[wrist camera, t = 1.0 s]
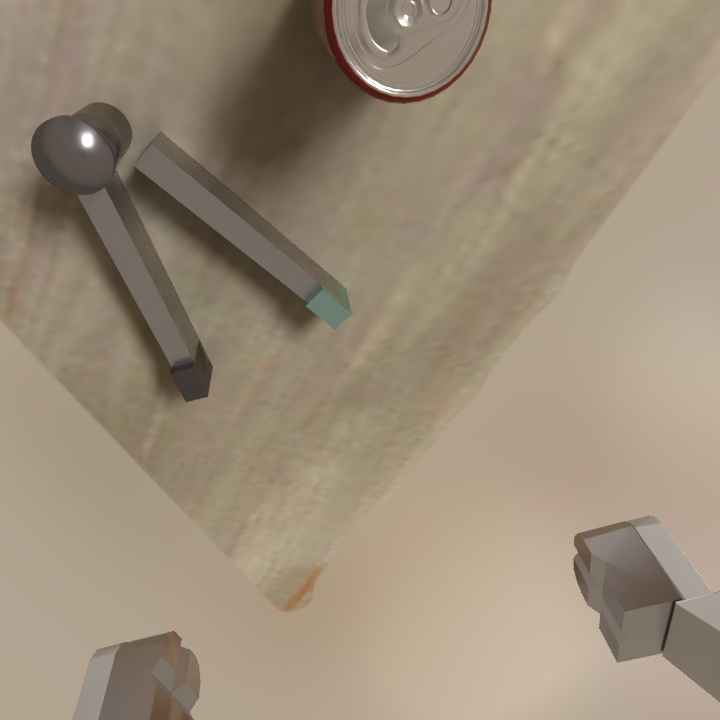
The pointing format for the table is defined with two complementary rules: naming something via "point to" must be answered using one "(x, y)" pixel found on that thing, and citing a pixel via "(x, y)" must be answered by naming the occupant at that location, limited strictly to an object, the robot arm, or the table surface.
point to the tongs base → (121, 228)
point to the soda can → (402, 43)
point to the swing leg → (244, 228)
